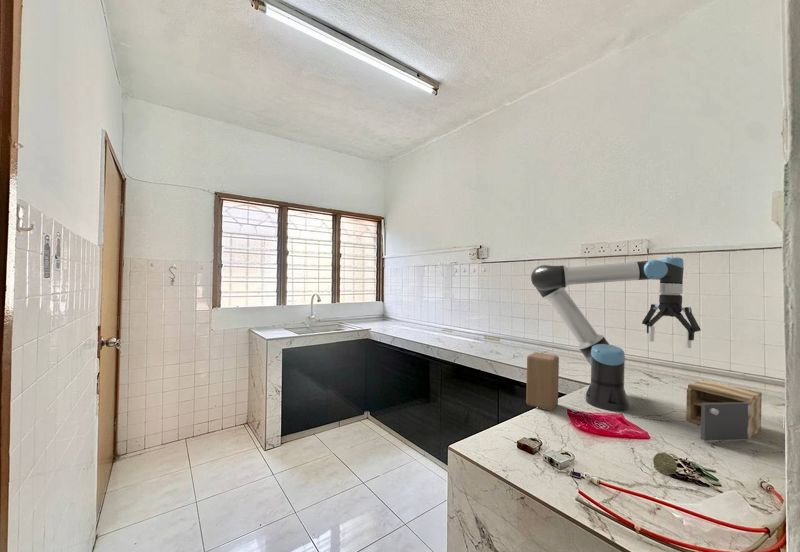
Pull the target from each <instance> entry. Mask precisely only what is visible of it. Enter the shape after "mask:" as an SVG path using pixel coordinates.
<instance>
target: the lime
mask: <svg viewBox="0 0 800 552" xmlns="http://www.w3.org/2000/svg"><path fill="white" fill-rule="evenodd" d="M652 459H653V460H652V463H653V465H654V467H655V469H656V470H657V472H659V473H660V474H663V475H668V476H669V475H674V474H675V473H676V472H677V470H678V464H677V461H676V460H675V459H674V457H673V456H672V455H670V454H668V453H666V452H658V453H656V454H655V455H654V456H653V458H652Z"/></svg>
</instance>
